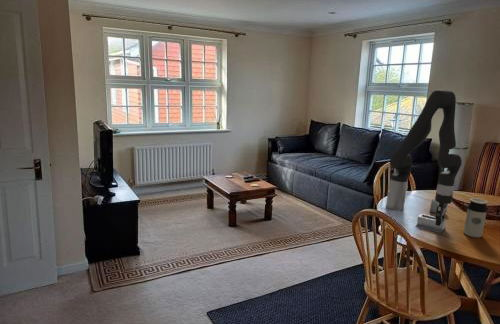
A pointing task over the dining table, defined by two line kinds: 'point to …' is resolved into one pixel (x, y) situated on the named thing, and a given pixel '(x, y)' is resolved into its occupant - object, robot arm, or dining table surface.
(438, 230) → the mat
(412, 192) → the dining table surface
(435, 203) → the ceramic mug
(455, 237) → the dining table surface
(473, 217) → the travel mug
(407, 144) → the robot arm
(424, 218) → the white slotted block
